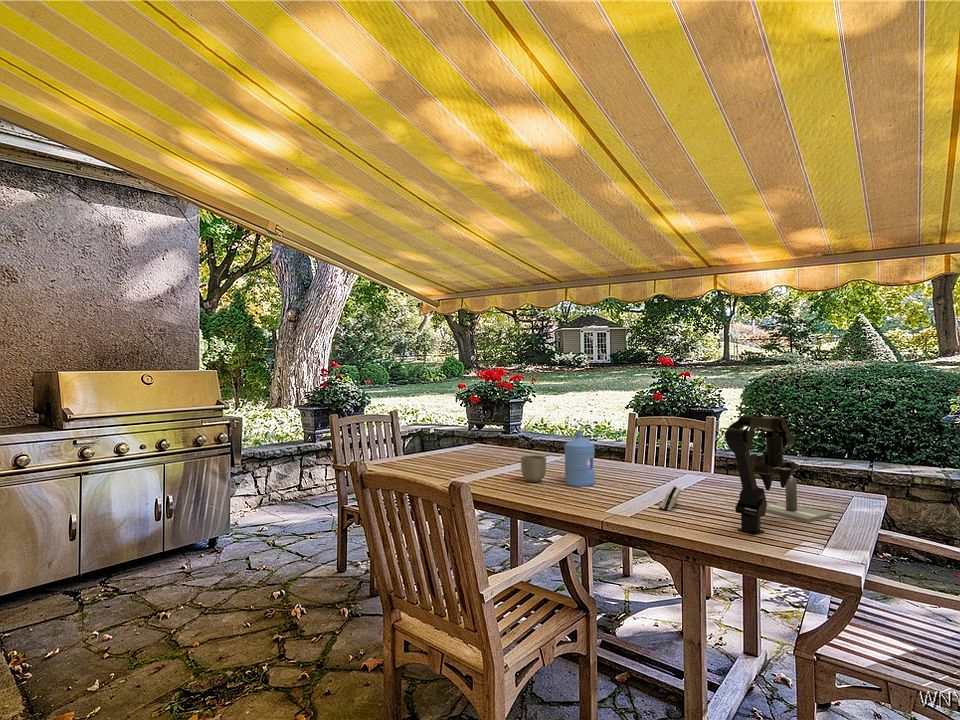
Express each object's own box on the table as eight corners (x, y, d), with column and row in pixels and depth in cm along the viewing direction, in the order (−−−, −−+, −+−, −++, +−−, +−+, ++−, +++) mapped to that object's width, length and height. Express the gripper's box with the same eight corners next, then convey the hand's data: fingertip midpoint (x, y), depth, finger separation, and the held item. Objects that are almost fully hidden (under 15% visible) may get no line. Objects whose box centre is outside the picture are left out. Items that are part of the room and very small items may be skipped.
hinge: (664, 500, 236) (672, 480, 234) (675, 505, 234) (682, 485, 232) (657, 509, 221) (665, 488, 220) (668, 515, 219) (676, 493, 217)
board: (807, 522, 200) (807, 518, 200) (758, 510, 218) (758, 506, 218) (831, 516, 208) (831, 512, 208) (782, 505, 225) (782, 501, 225)
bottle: (798, 511, 210) (797, 477, 210) (786, 510, 211) (785, 476, 211) (796, 509, 213) (795, 475, 214) (785, 508, 215) (784, 474, 215)
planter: (521, 478, 288) (520, 455, 288) (546, 478, 287) (545, 455, 287) (520, 484, 274) (520, 459, 274) (547, 484, 273) (546, 459, 273)
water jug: (568, 487, 266) (567, 432, 266) (562, 480, 281) (562, 429, 282) (598, 486, 266) (597, 432, 266) (591, 480, 281) (590, 428, 282)
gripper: (769, 444, 213) (770, 482, 213) (739, 448, 204) (740, 487, 204) (796, 447, 203) (797, 487, 203) (766, 452, 194) (767, 493, 194)
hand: (775, 489), depth 201 cm, fingers open, 9 cm apart
